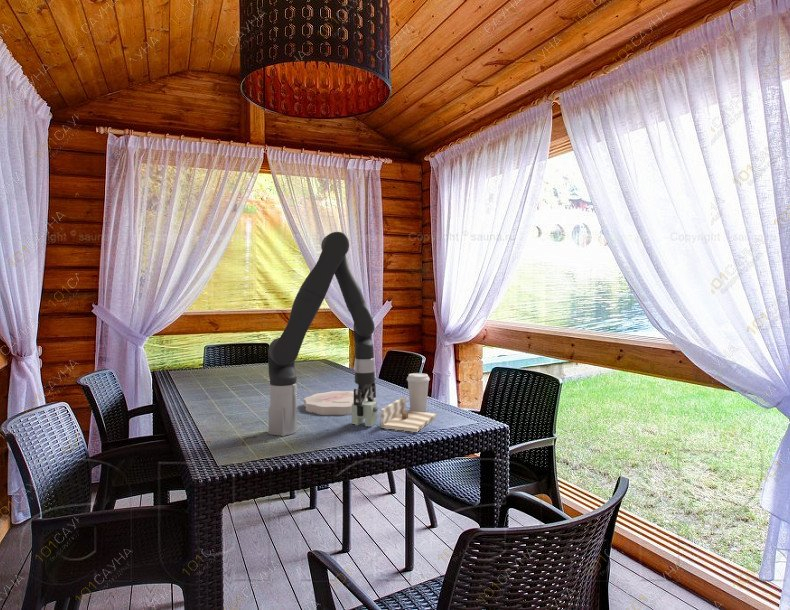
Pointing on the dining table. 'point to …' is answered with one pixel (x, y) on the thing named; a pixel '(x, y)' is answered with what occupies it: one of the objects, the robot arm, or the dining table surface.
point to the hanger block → (365, 414)
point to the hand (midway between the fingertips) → (365, 413)
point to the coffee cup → (418, 391)
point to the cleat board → (411, 421)
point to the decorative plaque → (331, 403)
